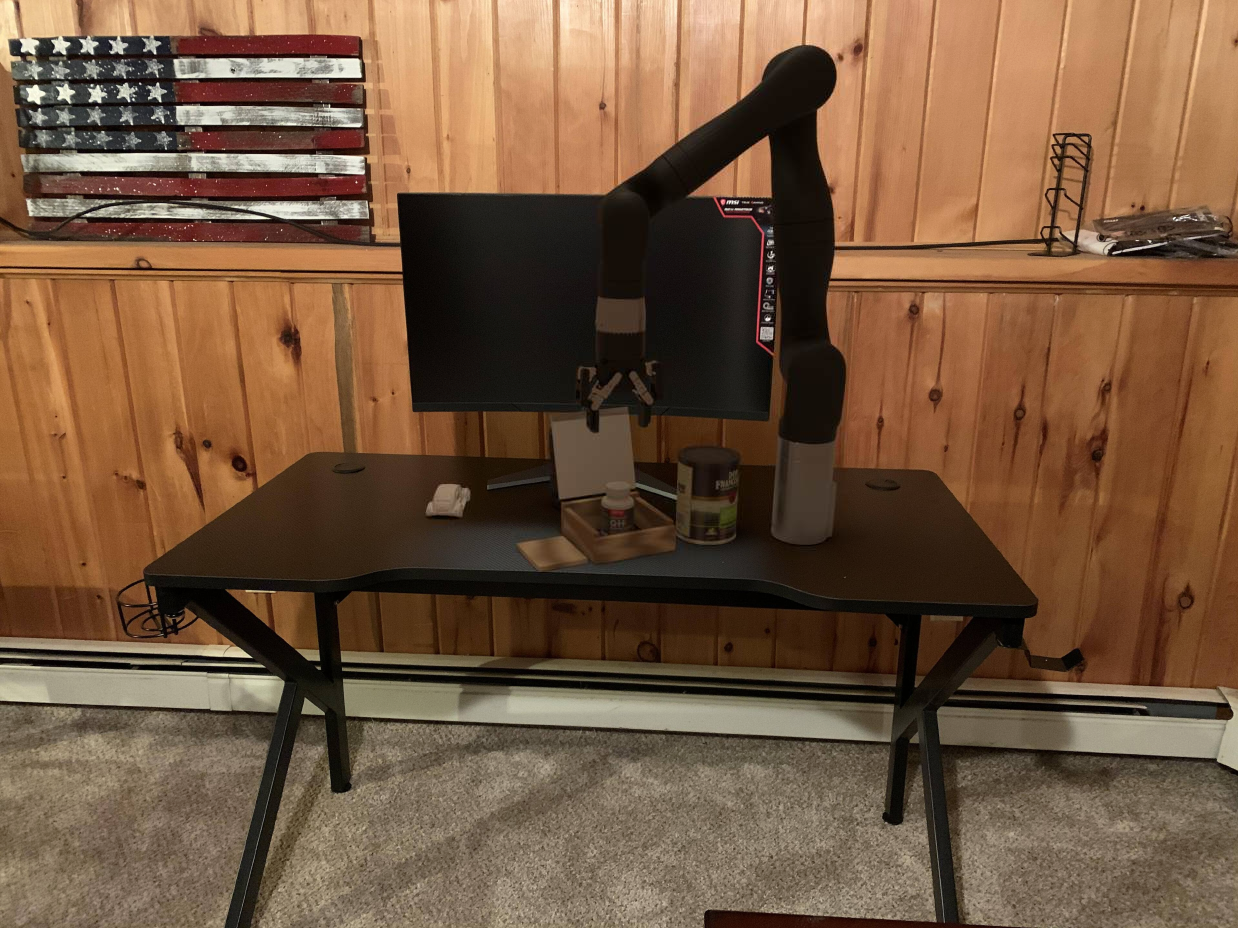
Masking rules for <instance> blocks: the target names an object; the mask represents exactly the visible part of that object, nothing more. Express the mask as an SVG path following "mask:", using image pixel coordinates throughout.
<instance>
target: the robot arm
mask: <svg viewBox="0 0 1238 928" xmlns="http://www.w3.org/2000/svg"><path fill="white" fill-rule="evenodd" d="M836 66H837V65H836V63H835V61H834V59H833V57H832V56H831V55H830V53H829V52H828V51H826V50H825V49H823V48H821V47H820V46H817V45H813V44H812V45H811V44H802V45H796V46H793V47H789V48H788V49H786V50H783V51H782V52H780V53H778V54H776V55H775V56H773V57H772V58H771V59H770V60H769V62H768V63H767V65H766V66H765V67H764V71H763V73H762V76H761V81H760V82H759V84H758V85H756V87H754V88H753V89H752V90H751V91H749V92H748V93H747V94H746V95H745V96H744V97H742V99H740V100H739V101H737V102H736V103H735V104H733V105H732V106H731V107H729V108H727V109H726V110H725V111H724V112H722V113H720V114H719V115H717V116H715V117H713V118H712V119H711V120H709V121H707V122H705V123H704V124H702V125H701V126H699V127H697V128H696V129H694V130H693V131H691V132H690V133H689V134H687V135H686V136H684V137H683V138H681V139H680V140H679V141H677V142H676V143H674V144H673V145H672V146H670V148H668V149H667V150H665V151H664V152H663V153H662V154H660V155H658V156H657V157H656V158H655V159H654V160H653V161H652V162H651V163H649V164H648V165H647V166H646V167H645V168H643V169H642V170H640V171H639V172H637V173H636V174H634V175H632V176H631V177H629V178H628V179H626V180H624V181H623V182H621V183H620V184H618V185H617V186H616V187H614V188H613V189H611V190H610V191H609V192H607V193H606V194H605V195H604V196H603V197H602V199H601V200H600V202H599V204H598V206H597V210H596V218H597V222H598V225H599V226H600V228H601V260H600V261H599V266H598V273H597V278H598V279H597V280H598V281H597V284H598V285H597V286H598V287H597V288H598V289H597V304H596V310H595V311H596V312H595V314H596V315H595V320H594V321H595V358H596V360H595V361H596V362H595V364H594V366H593V367H590V366H589V367H585V366H583V365H578V366H576V368H575V381H574V382H575V385H574V403H575V404H577V405H578V406H580V407H582V408H585V409H586V410H585V411H586V425H587V428H589V429H590V431H591V432H593V433H599V410H600V409H599V407H600V406H601V404H602V403H603V402H604V400H606V399H607V398H608V397H609V396H610V394H613V395H614V394H620V393H622V392H623V393H632V392H633V393H634V394H635V395H636V397H637V398H638V399H639V401H640V402H638V405H637V406H638V408H637V410H638V411H637V425H638V426H639V427H641V428H642V429H644V428H645V429H646V428H648V427H649V424H650V423H651V422H652V405H653V403H654V402H656V401H659V400H660V401H661V400H662V399H663V398H664V369H663V368H664V366H663V363H661V362H659V361H658V360H654V359H650V361H648V362H645V360H644V358H645V354H646V353H645V352H646V322H647V321H646V320H647V319H646V317H647V315H646V313H647V311H646V302H645V293H646V291H645V290H646V287H645V286H646V285H645V284H646V282H645V281H646V272H645V271H646V270H645V267H646V265H645V264H646V263H645V262H646V256H647V250H648V242H649V235H650V234H649V232H650V220H652V219H653V218H654V217H655V216H657V215H658V214H660V212H662V211H663V210H665V209H666V208H668V207H670V206H674V205H675V204H678V203H679V202H681V201H683V200H684V199H686V198H687V197H688V196H689V197H690V195H691V194H692V193H694V192H695V191H696V190H698V189H699V188H701V187H702V186H704V184H706V183H707V182H708V181H710V180H711V179H712V178H714V177H715V176H717V175H718V174H719V172H721V171H722V170H723V169H725V168H726V167H727V166H729V165H730V164H731V163H732V162H733V161H735V160H736V159H738V158H739V157H740V156H741V155H743V154H744V153H745V152H747V151H748V150H750V148H752V147H753V146H755V145H756V144H758V143H759V142H760V141H762V140H763V139H765V138H766V137H768V143H769V152H770V153H769V154H770V191H771V215H772V216H771V219H772V220H771V221H772V222H771V223H772V238H773V239H772V240H773V253H774V260H775V261H774V263H775V269H776V280H777V287H778V294H779V301H780V333H779V334H780V336H779V350H778V351H779V354H778V355H779V356H778V365H779V371H780V374H781V377H782V378H783V380H784V382H785V383H786V387H785V388H786V390H785V398H784V400H785V401H784V409H783V410H784V411H783V414H782V415H781V417H780V418H779V421H778V430H777V444H776V446H777V447H776V460H775V471H774V472H775V473H774V488H773V489H774V490H773V503H772V518H771V531H770V534H771V535H772V536H773V537H774V538H775V539H777V540H779V541H781V542H784V543H787V544H793V545H801V546H806V545H807V546H808V545H816V544H820V543H823V542H825V541H826V540H827V538H830V537H831V538H832V537H833V528H834V517H835V508H836V507H835V505H836V495H837V482H836V481H834V480H833V474H834V462H835V450H836V440H837V430H838V428H839V426H840V423H841V420H842V416H843V409H844V401H845V392H846V384H847V363H846V359H845V357H844V355H843V353H842V351H840V349H839V348H838V347H837V346H835V345H834V344H832V342H831V336H830V331H829V322H828V321H829V320H828V311H827V300H828V298H827V297H828V292H829V291H828V290H829V285H830V280H831V276H832V273H833V271H832V270H833V267H834V261H835V251H836V234H835V232H836V229H835V212H834V204H833V203H834V202H833V198H832V195H831V190H830V186H829V183H828V180H827V176H826V172H825V171H824V167H823V165H822V161H821V157H820V153H819V147H818V146H819V145H818V110H819V109H821V108H822V107H823V106H824V105H825V104H826V103H827V102H828V101H829V99H830V98H831V96H832V94H833V93H834V91H835V89H836V86H837V79H838V73H837V72H838V71H837V67H836ZM645 373H646V374H647V375H648V381H649V383H648V385H649V386H648V387H649V391H648V388H647V387H646V386H645V384H644V383H643V382H642V377H643V376H644V374H645ZM593 377H596V380H597V381H596V382H595V384H594V385H593V386H592V388H591V392H590V394H589V391H590V382H591V381H592V380H593Z"/></svg>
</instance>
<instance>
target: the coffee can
mask: <svg viewBox="0 0 1238 928" xmlns="http://www.w3.org/2000/svg"><path fill="white" fill-rule="evenodd" d="M741 458H742V454H741V453H740V452H739V451H737V450H735V449H732V448H730V447H725V446H721V445H720V446H719V445H706V444H705V445H703V444H702V445H692V446H687V447H683V448H680V450H678V452H677V480H676V481H677V482H676V483H677V485H676V508H675V509H676V510H675V511H676V512H675V526H676V538H677V537H678V539H680V540H682V541H684V542H687V543H691V544H694V545H700V546H718V545H724V544H727V543H730V542H732V541H733V540H735V539H736V536H737V517H738V500H739V496H738V495H739V482H740V481H739V480H740V466H741V465H740V463H741Z"/></svg>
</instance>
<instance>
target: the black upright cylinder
mask: <svg viewBox="0 0 1238 928" xmlns="http://www.w3.org/2000/svg"><path fill="white" fill-rule="evenodd" d="M548 453H549V461H550V463H549V465H550V466H549V468H550V469H549V488H550V496H551V498H552V500H553V503H552V504H553V506H554V507H555V508H557V509H561V503H563V502H569V501H576V500H583V499H589V498H593V496H594V494H593V495H586V496H579V497H573V498H566V499H559V493H558V483H557V474H556V465H555V455H554V446H553V436H552V427H551V424H550V425H549V430H548Z"/></svg>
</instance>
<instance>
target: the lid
mask: <svg viewBox="0 0 1238 928" xmlns="http://www.w3.org/2000/svg"><path fill="white" fill-rule="evenodd" d="M598 410H599V433H593V432H591V431H590V429H589V428H587V425H586V410H584V411H576V412H567V413H556V414H550V415H549V422H550V425H551V427H552V436H553V446H554V455H555V465H556V474H557V483H558V493H559V499H566V498H573V497H579V496H586V495H593V496H594V495H599V494H606V492H605V491H606V484H608V483H610V482H625V483H628V484H630V487H631V490H632V489H636V487H637V486H636V485H637V484H636V475H635V466H634V464H635V463H634V452H633V445H632V436H631V435H632V434H631V425H630V424H631V423H630V417H629V416H630V414H629V407H628V406H622V407H613V408H603V409H598Z"/></svg>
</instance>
